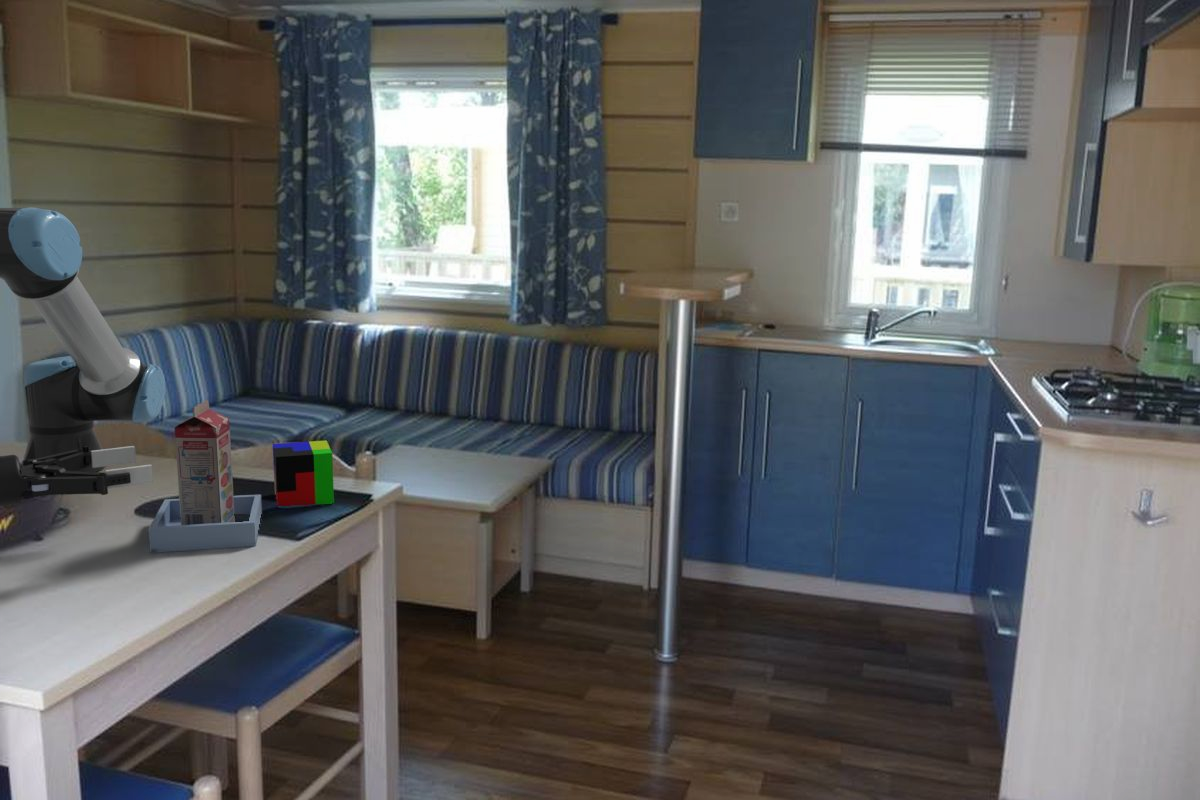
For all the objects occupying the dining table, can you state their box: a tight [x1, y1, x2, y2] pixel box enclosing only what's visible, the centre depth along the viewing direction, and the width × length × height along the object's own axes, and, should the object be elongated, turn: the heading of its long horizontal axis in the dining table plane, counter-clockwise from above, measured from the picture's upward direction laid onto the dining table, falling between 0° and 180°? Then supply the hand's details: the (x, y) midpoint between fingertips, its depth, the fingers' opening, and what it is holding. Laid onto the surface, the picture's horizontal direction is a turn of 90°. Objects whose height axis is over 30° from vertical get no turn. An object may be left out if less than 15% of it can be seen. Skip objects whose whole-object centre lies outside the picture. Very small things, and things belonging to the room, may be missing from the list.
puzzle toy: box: [272, 439, 335, 507], centre depth 188 cm, size 10×10×10 cm
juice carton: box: [174, 399, 235, 525], centre depth 167 cm, size 7×7×22 cm
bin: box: [148, 494, 263, 554], centre depth 169 cm, size 16×16×4 cm
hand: (143, 463), depth 161 cm, fingers open, 13 cm apart
